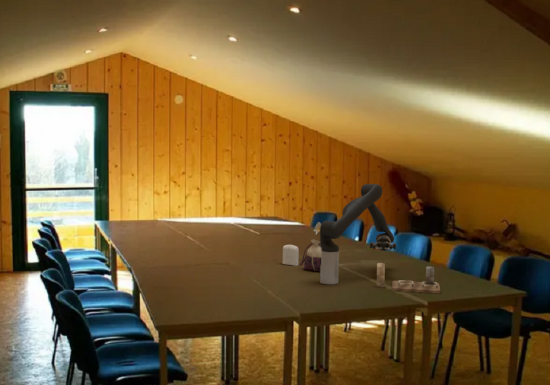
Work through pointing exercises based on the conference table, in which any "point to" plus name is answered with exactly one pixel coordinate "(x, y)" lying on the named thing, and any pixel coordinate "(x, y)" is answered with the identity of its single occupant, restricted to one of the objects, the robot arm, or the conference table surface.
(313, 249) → the pouch
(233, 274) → the conference table surface
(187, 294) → the conference table surface
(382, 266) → the maple pin
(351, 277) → the conference table surface
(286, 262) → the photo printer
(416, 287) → the pin board
